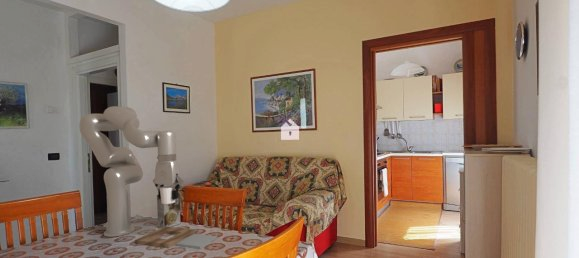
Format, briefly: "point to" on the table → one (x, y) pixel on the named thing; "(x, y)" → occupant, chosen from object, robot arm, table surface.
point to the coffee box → (168, 213)
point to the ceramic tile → (196, 241)
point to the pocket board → (166, 243)
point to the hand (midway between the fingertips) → (168, 198)
